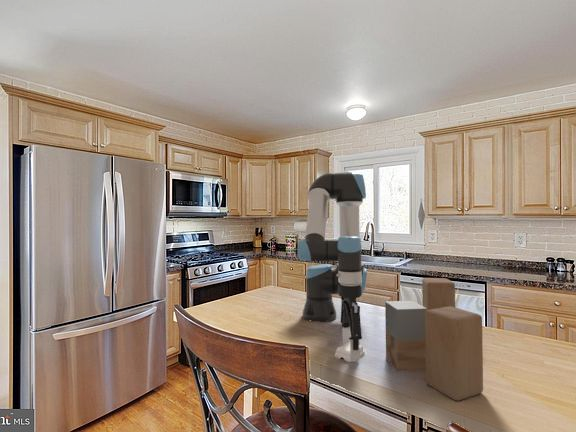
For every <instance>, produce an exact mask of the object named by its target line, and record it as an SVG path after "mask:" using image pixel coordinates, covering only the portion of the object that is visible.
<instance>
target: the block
mask: <svg viewBox="0 0 576 432" xmlns="http://www.w3.org/2000/svg"><path fill="white" fill-rule="evenodd" d="M483 347H484V346H483V316H482V315H481V314H478V313H476V312H473V311H469V310H465V309H461V308H459V307H456V306H455V307H452V306H449V307H442V308H436V309H430V310H426V312H425V355H426V370H425V382H426V384H427V385H428V386H430V387H432V388H433V389H435V390H437V391H439V392H440V393H442V394H444V395H445V396H447V397H449V398H450V399H452V400H455V401H458V402H459V401H461V400H464V399H468V398H470V397H474V396H477V395H480V394H482V393H483V391H484V367H483V366H484V363H483V361H484V360H483V359H484V357H483V355H484V354H483V350H484V349H483Z"/></svg>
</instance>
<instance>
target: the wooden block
mask: <svg viewBox="0 0 576 432" xmlns="http://www.w3.org/2000/svg"><path fill="white" fill-rule="evenodd" d="M421 284H422V286H421V287H422V291H421V292H422V293H421V295H422V306H423V307H425V308H427V310H430V309H436V308H442V307H449V306H452V307H455V308H456V284H455V283H454V281H452V280H450V279H448V278H444V277H443V278H442V277H440V278H439V277H423V278H422V282H421Z"/></svg>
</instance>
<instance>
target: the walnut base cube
mask: <svg viewBox="0 0 576 432" xmlns="http://www.w3.org/2000/svg"><path fill="white" fill-rule="evenodd" d="M385 359H386V360H387V361H388V362H389V364H390V365H391V366H392V367H393V368H394V370H396V371H397V372H400V373H401V372H417V371H421V372H422V371H426V355H425V339H423V340H398V341H397V340H396V339H395V338H394V337H393V336H392V335H391V334H390V333H389V332H387V331H386V330H385Z"/></svg>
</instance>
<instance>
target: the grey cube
mask: <svg viewBox="0 0 576 432" xmlns="http://www.w3.org/2000/svg"><path fill="white" fill-rule="evenodd" d="M384 307H385V316H384V317H385V332H386V331H387V332H389V333H390V334H391V335H392V336H393V337H394V338H395V339H396V340H397V341H398V340H423V339H425V312H426V310H427V308H425V307H423V305H421V304H419V303H418V302H416V301H415V300H397V301H395V300H393V301H391V300H389V301H387V300H386V301H385V304H384Z"/></svg>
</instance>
